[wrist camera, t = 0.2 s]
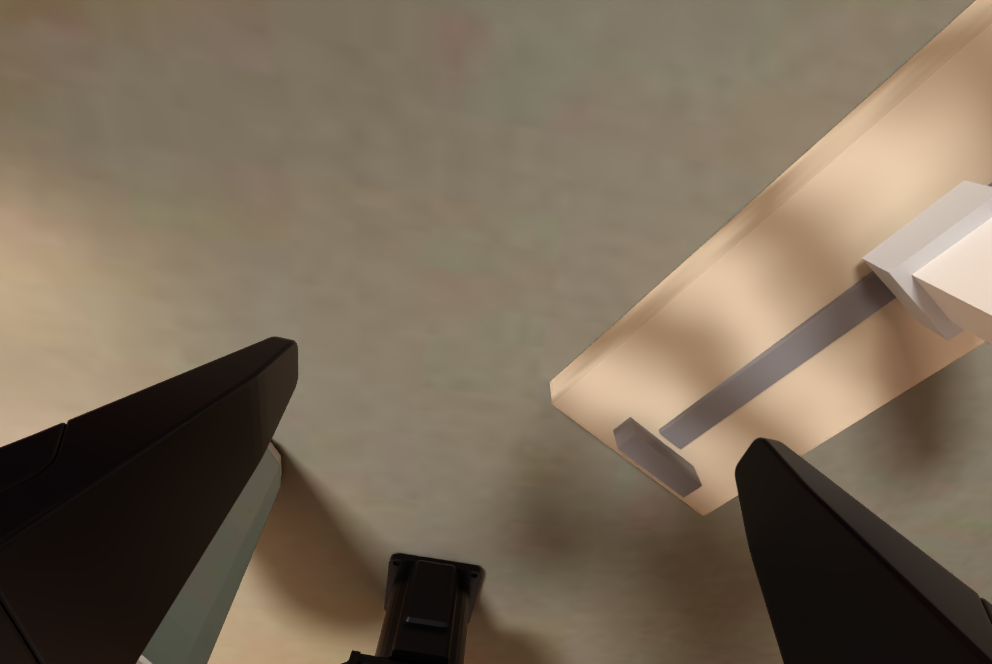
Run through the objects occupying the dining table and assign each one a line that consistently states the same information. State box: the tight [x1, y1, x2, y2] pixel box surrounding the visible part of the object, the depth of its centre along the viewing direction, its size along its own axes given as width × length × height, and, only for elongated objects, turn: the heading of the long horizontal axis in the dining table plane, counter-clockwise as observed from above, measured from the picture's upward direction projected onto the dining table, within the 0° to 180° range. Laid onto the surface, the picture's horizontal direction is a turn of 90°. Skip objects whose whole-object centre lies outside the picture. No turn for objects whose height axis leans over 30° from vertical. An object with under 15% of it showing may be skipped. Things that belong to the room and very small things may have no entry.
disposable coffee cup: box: [136, 441, 282, 664], centre depth 23 cm, size 11×11×15 cm
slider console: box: [550, 0, 992, 516], centre depth 21 cm, size 24×12×3 cm, turn 140°
